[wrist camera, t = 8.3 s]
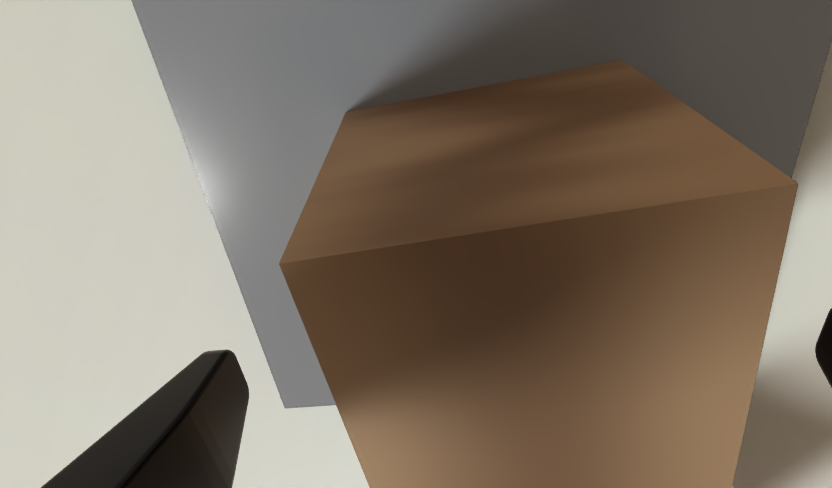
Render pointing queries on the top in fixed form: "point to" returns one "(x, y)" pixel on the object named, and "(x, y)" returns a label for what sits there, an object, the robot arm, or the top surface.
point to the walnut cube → (541, 285)
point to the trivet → (432, 75)
